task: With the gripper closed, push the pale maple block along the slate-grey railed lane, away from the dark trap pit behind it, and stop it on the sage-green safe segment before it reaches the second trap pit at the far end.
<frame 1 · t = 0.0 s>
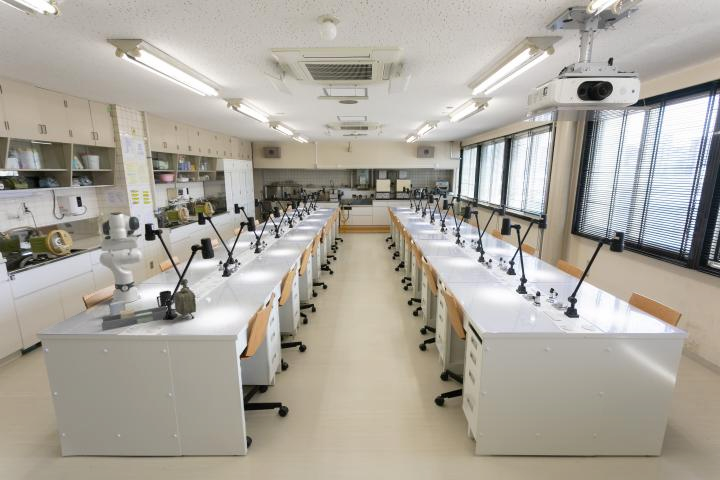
hand: (120, 256, 227), 39 cm above the table, tool pointing down, fingers open, 8 cm apart
olive backpack: (186, 317, 222), on the table
trap lane: (137, 321, 215), on the table
maple block: (128, 318, 212), point 3 cm above the table, touching trap lane
black mug: (164, 309, 236), on the table
medicine box: (118, 315, 224), on the table
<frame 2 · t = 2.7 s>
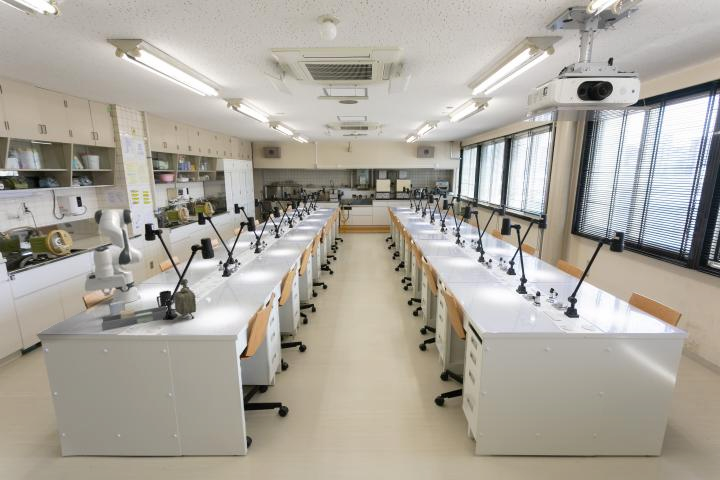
hand: (107, 295, 204), 20 cm above the table, tool pointing down, fingers closed
nothing on the table moved.
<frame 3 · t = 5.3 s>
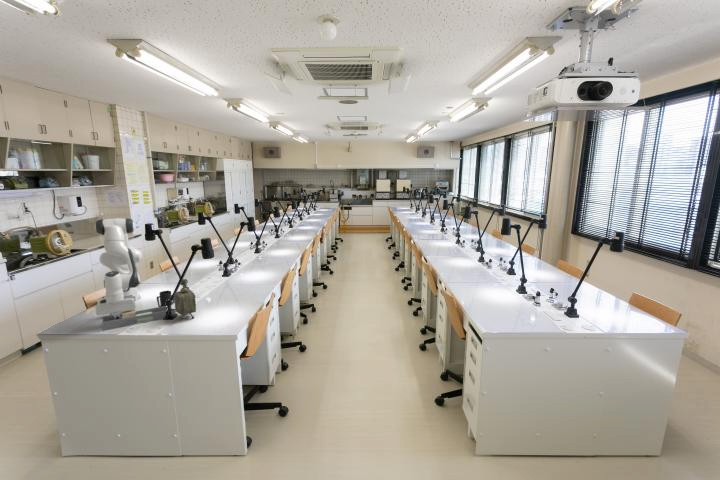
hand: (117, 318, 208), 4 cm above the table, tool pointing down, fingers closed
maple block: (129, 318, 212), point 3 cm above the table, touching gripper, trap lane
everything else where it was.
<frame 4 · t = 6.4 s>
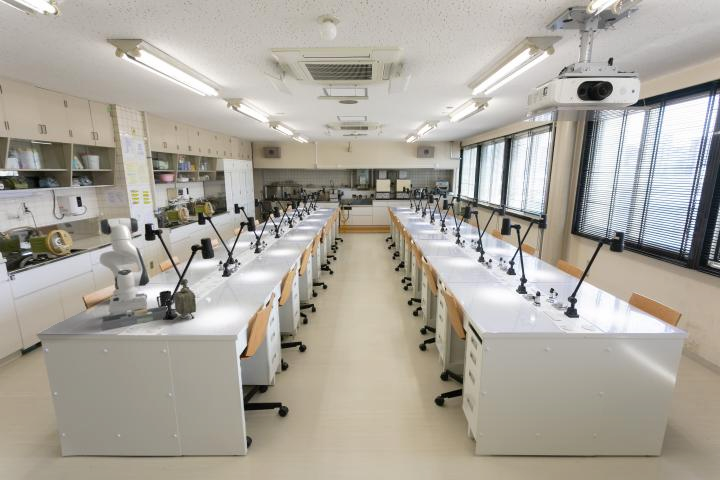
hand: (129, 316, 212), 4 cm above the table, tool pointing down, fingers closed
maple block: (141, 315, 216), point 3 cm above the table
everything else where it was.
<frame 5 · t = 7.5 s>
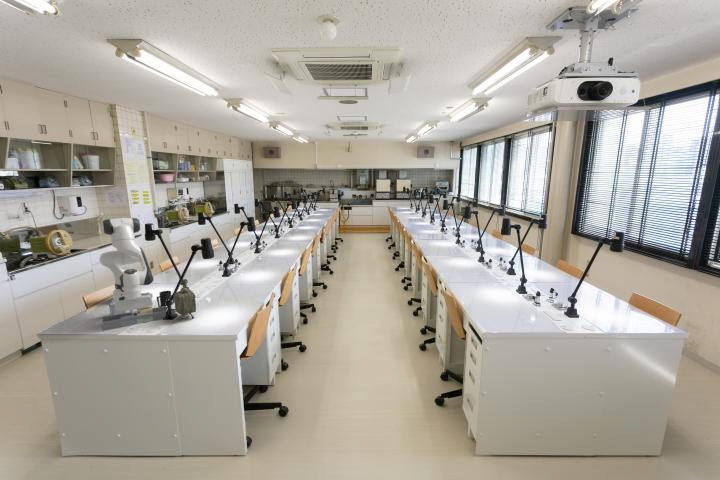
hand: (135, 315, 214), 4 cm above the table, tool pointing down, fingers closed
maple block: (146, 314, 217), point 3 cm above the table, touching gripper, trap lane
everything else where it was.
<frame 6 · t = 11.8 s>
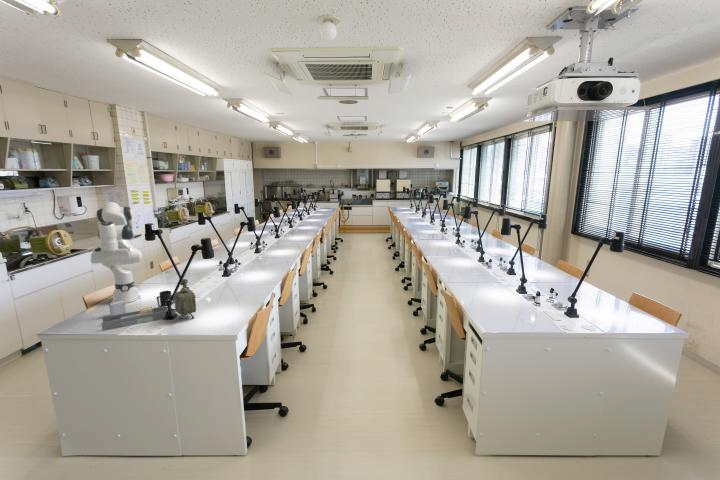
hand: (112, 268, 213), 34 cm above the table, tool pointing down, fingers closed
maple block: (146, 314, 217), point 3 cm above the table, touching trap lane
everything else where it was.
at the end: maple block 1.9 cm from the target spot on the trap lane, point 3.0 cm above the trap lane's base; maple block tilted 0°; maple block moved 9.9 cm from its start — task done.
